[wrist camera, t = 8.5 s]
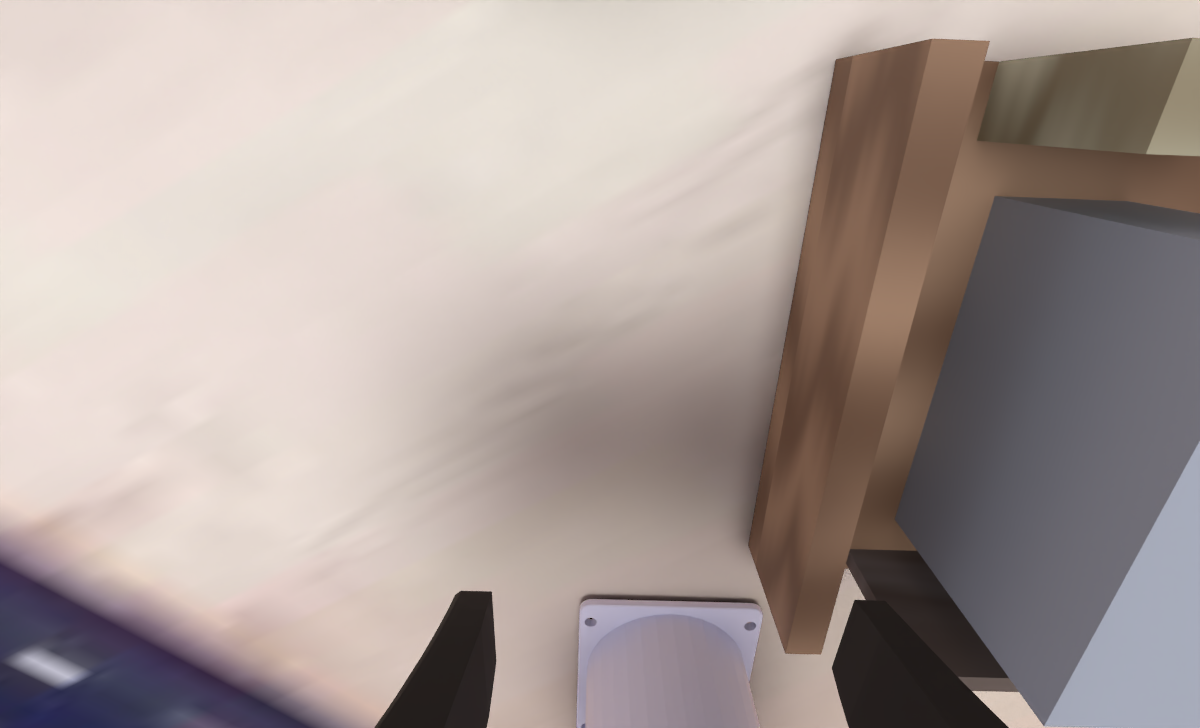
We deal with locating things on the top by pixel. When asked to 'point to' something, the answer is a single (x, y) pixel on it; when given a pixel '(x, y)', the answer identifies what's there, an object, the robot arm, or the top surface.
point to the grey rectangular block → (1073, 460)
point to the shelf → (930, 291)
